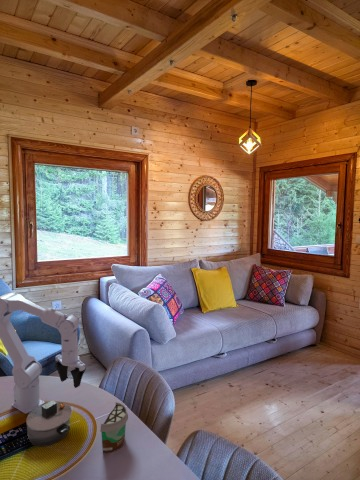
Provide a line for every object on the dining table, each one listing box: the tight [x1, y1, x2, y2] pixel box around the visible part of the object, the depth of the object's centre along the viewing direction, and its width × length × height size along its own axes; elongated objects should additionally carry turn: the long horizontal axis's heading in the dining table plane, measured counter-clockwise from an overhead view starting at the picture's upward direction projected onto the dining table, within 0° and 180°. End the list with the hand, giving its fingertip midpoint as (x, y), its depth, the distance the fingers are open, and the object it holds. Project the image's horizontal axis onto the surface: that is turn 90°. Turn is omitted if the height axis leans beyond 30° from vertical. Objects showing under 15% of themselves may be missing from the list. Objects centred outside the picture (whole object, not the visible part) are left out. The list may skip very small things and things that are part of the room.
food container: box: [99, 401, 129, 454], centre depth 101 cm, size 12×6×10 cm, turn 168°
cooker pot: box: [26, 411, 71, 447], centre depth 106 cm, size 18×13×5 cm
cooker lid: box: [25, 400, 73, 432], centre depth 106 cm, size 14×14×4 cm
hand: (70, 383), depth 119 cm, fingers open, 7 cm apart
